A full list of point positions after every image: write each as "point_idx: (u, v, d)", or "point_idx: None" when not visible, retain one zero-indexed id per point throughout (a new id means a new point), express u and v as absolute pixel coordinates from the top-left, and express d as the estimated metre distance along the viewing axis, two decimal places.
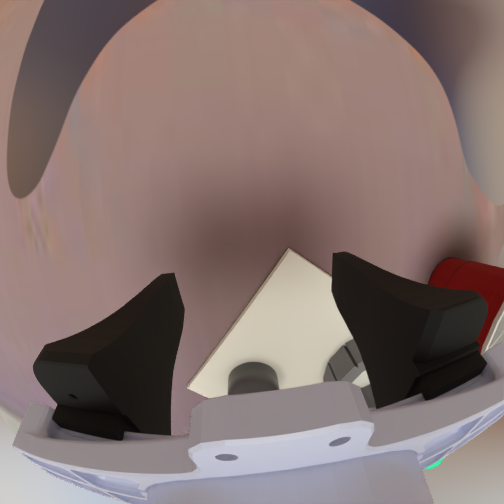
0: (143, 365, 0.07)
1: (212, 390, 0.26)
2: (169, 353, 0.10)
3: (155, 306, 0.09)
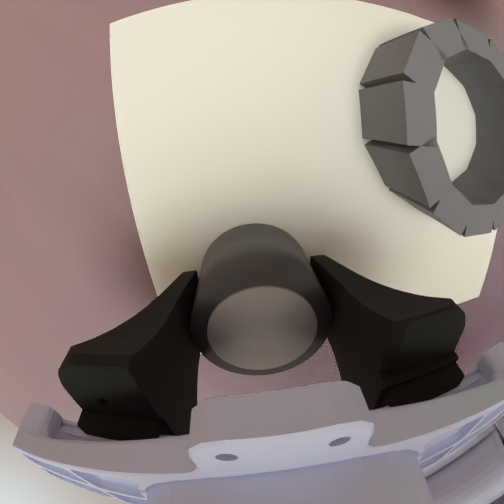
0: (174, 365, 0.07)
1: None
2: (194, 352, 0.10)
3: (182, 304, 0.09)
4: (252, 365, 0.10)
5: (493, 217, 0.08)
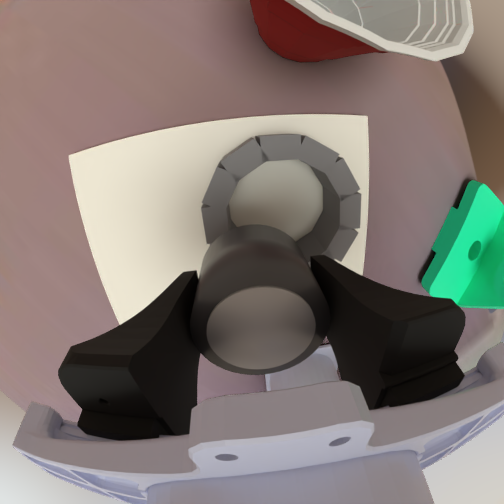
0: (174, 365, 0.07)
1: None
2: (194, 352, 0.10)
3: (182, 304, 0.09)
4: (249, 364, 0.10)
5: None
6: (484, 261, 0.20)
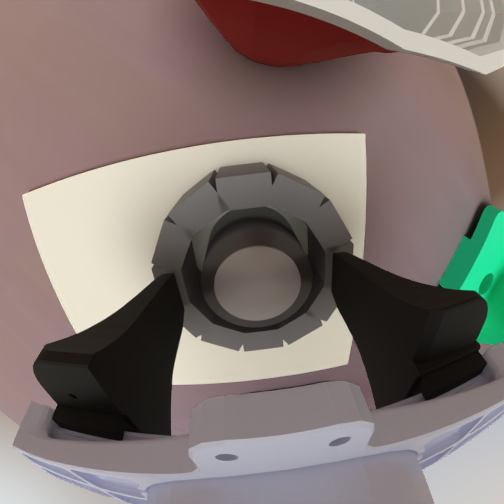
0: (143, 365, 0.07)
1: None
2: (169, 353, 0.10)
3: (155, 306, 0.09)
4: (247, 316, 0.13)
5: (282, 337, 0.14)
6: (495, 294, 0.17)
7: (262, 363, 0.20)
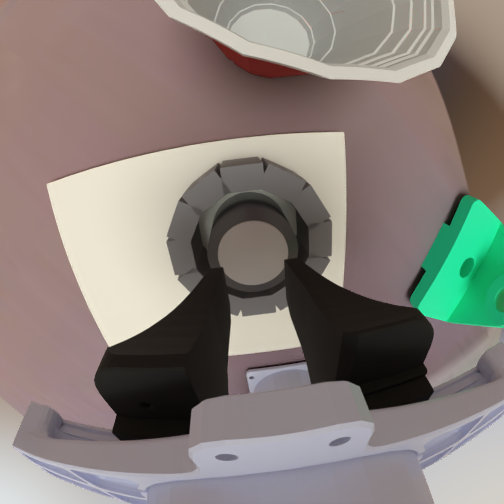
0: (213, 363, 0.07)
1: None
2: (224, 350, 0.10)
3: (215, 300, 0.09)
4: (245, 281, 0.15)
5: (274, 303, 0.17)
6: (477, 278, 0.20)
7: (259, 336, 0.23)
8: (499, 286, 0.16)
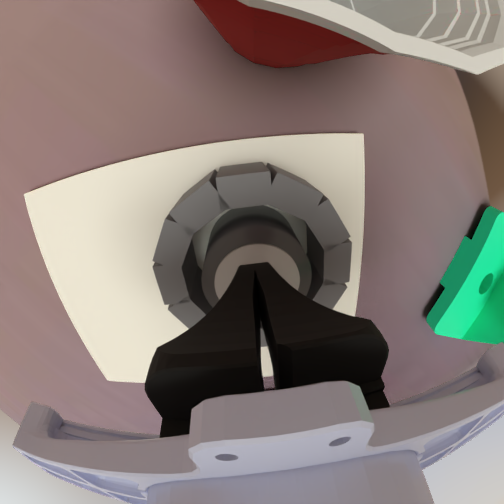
0: (259, 358, 0.07)
1: (122, 372, 0.20)
2: (259, 346, 0.10)
3: (253, 296, 0.09)
4: None
5: None
6: (495, 294, 0.17)
7: (262, 361, 0.20)
8: None
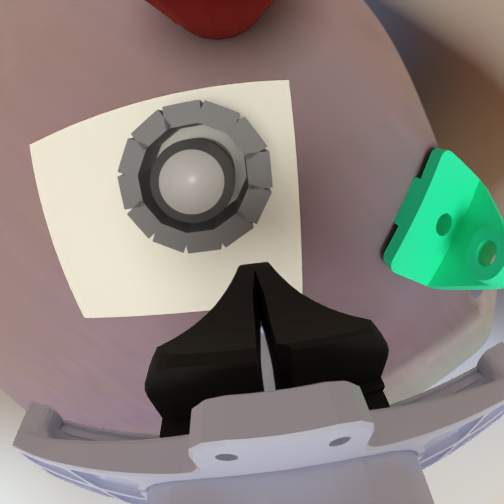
0: (259, 358, 0.07)
1: (96, 306, 0.23)
2: (259, 346, 0.10)
3: (253, 296, 0.09)
4: (185, 210, 0.16)
5: (218, 238, 0.17)
6: (457, 237, 0.20)
7: (217, 290, 0.23)
8: (479, 240, 0.16)
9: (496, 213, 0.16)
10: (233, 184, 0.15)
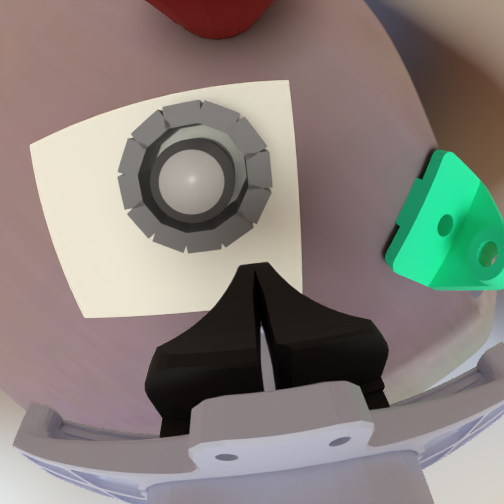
0: (259, 358, 0.07)
1: (96, 306, 0.23)
2: (259, 346, 0.10)
3: (253, 296, 0.09)
4: (185, 210, 0.16)
5: (218, 238, 0.17)
6: (458, 238, 0.20)
7: (217, 290, 0.23)
8: (480, 241, 0.16)
9: (497, 214, 0.16)
10: (233, 184, 0.15)
